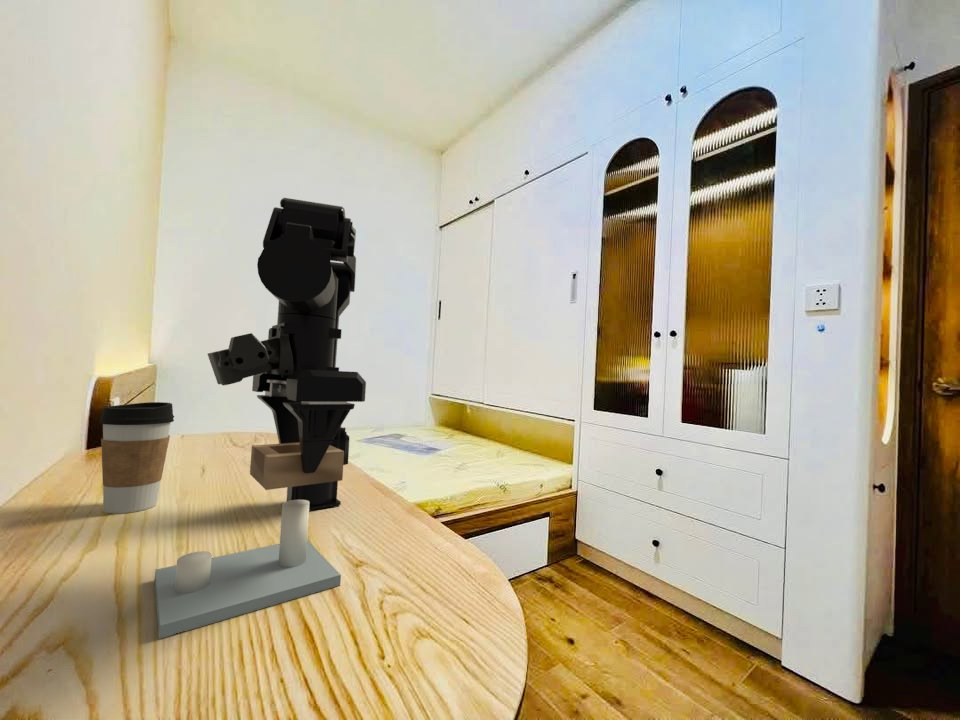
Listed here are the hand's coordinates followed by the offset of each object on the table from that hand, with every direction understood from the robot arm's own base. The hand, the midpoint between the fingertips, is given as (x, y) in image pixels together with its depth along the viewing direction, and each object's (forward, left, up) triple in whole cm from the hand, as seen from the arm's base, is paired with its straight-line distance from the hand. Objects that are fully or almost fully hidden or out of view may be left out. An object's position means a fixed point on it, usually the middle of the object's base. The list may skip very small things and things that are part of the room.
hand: (297, 465), depth 43 cm
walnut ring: (0, 0, -1) cm, 1 cm away
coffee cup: (+13, -33, -11) cm, 37 cm away
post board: (+4, 0, -11) cm, 12 cm away
